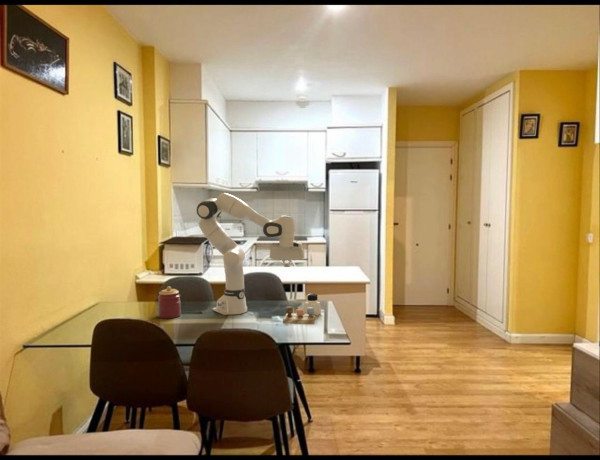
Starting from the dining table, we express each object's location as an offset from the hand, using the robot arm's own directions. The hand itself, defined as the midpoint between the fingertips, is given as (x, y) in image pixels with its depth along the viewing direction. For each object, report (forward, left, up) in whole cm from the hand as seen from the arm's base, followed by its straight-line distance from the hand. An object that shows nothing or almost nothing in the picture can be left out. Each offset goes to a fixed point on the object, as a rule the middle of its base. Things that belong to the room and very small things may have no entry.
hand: (286, 266), depth 232 cm
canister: (-54, -44, -29) cm, 75 cm away
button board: (+12, -3, -29) cm, 31 cm away
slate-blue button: (+18, 0, -27) cm, 32 cm away
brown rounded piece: (+7, -6, -27) cm, 28 cm away
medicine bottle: (+11, +10, -29) cm, 32 cm away
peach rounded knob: (+12, -3, -28) cm, 31 cm away
